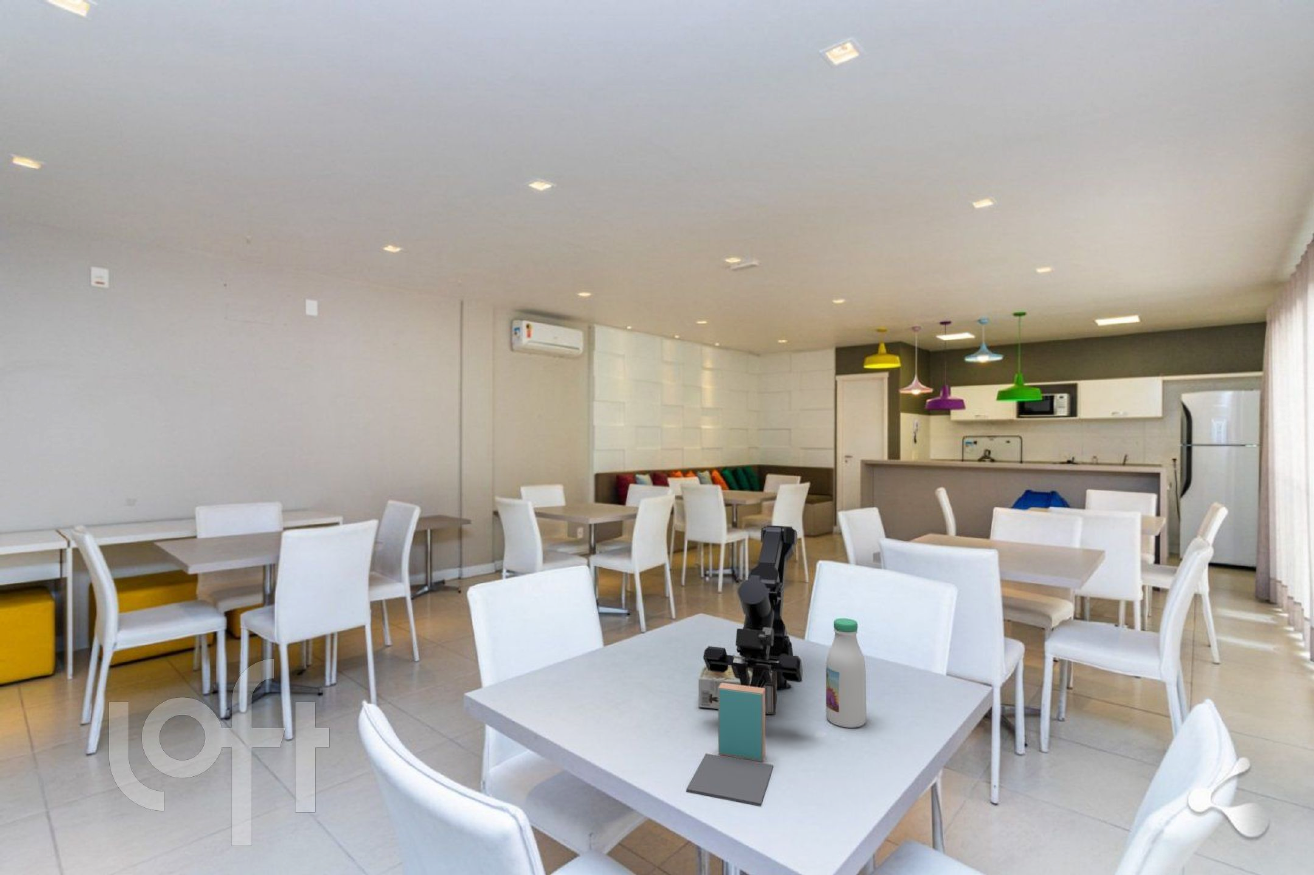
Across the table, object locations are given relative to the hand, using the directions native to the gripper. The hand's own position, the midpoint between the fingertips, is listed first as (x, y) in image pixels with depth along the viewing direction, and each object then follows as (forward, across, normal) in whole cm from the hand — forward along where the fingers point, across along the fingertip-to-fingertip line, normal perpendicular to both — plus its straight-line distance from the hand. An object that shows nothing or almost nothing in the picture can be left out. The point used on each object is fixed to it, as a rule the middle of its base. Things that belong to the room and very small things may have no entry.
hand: (746, 707), depth 116 cm
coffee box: (-9, -13, +14) cm, 21 cm away
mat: (+14, 0, -4) cm, 15 cm away
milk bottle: (-6, +17, +16) cm, 24 cm away
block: (+8, 0, +2) cm, 8 cm away
